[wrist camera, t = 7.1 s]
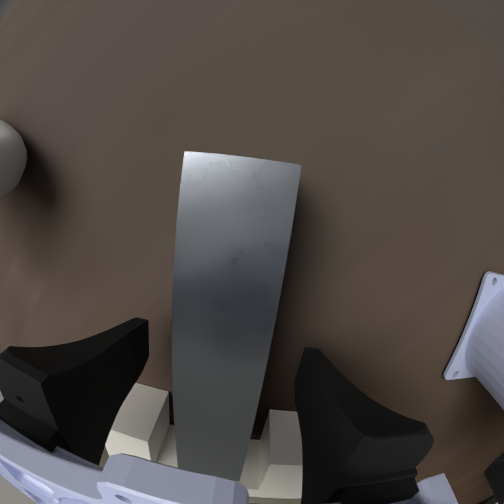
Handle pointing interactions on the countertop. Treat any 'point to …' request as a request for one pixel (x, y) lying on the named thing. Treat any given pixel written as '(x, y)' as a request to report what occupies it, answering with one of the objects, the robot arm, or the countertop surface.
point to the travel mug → (497, 478)
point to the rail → (226, 301)
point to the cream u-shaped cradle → (164, 446)
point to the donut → (10, 158)
